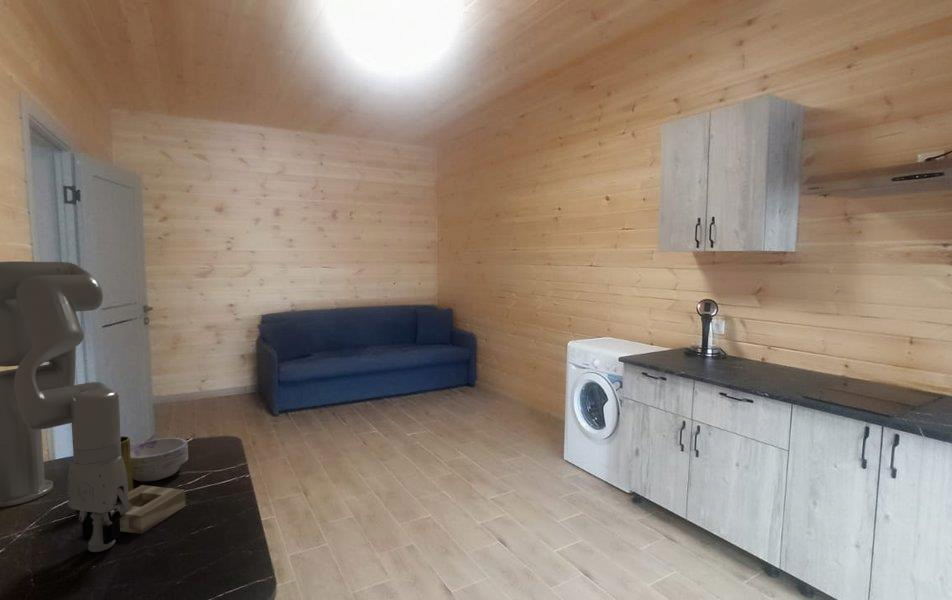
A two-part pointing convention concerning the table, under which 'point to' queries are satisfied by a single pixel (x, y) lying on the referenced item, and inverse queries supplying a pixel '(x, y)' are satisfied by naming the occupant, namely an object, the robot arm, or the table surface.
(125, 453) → the vase
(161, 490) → the socket block
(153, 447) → the paper bowls
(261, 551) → the table surface
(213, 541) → the table surface
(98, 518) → the rook chess piece
